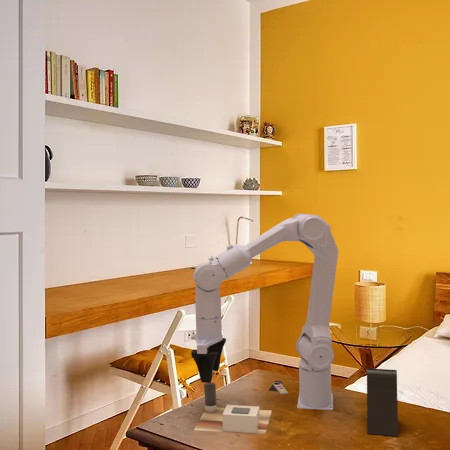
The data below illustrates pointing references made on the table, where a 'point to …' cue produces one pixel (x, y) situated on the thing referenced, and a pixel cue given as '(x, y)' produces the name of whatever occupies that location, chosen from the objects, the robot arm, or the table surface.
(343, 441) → the table surface
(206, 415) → the panel
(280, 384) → the usb flash drive
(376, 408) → the phone stand
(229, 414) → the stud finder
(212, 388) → the grey capped cylinder
